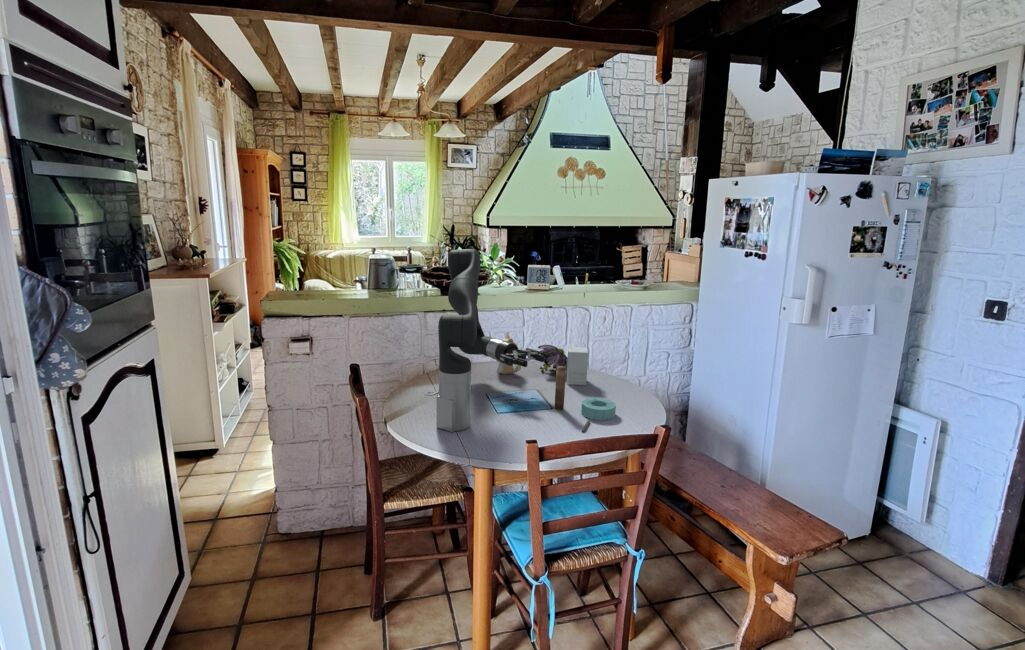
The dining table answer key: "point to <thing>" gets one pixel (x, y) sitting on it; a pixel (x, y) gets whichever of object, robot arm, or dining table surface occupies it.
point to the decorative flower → (553, 357)
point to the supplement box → (577, 366)
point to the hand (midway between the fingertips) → (535, 361)
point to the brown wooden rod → (560, 387)
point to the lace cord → (585, 426)
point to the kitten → (504, 367)
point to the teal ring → (598, 408)
